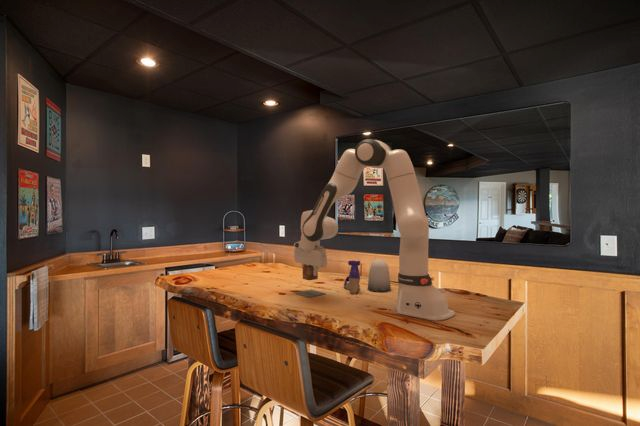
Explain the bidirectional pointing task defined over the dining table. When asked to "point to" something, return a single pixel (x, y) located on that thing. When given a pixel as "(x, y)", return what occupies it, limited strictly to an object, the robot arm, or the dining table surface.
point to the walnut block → (309, 273)
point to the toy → (379, 276)
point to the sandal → (353, 277)
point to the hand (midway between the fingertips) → (310, 274)
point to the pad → (310, 293)
